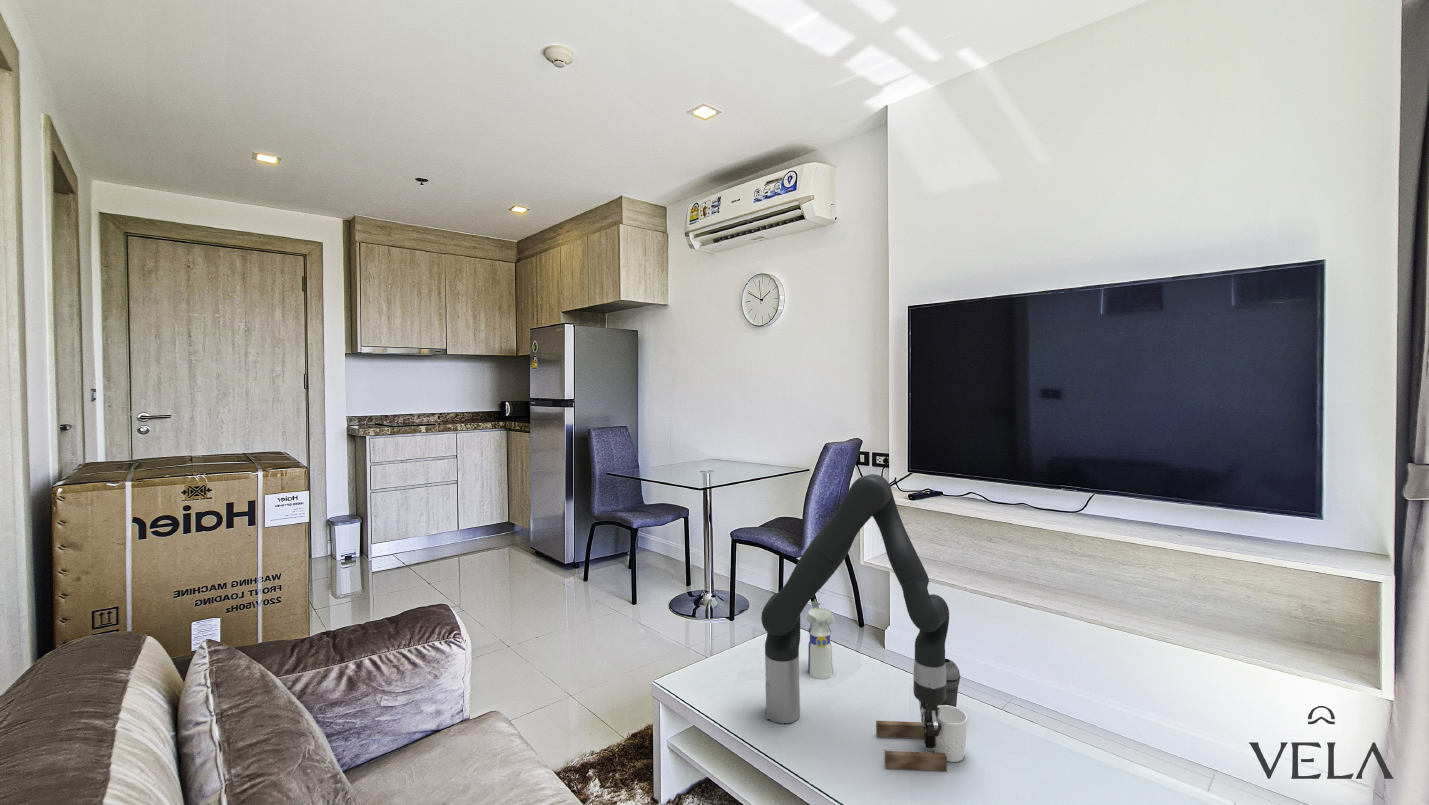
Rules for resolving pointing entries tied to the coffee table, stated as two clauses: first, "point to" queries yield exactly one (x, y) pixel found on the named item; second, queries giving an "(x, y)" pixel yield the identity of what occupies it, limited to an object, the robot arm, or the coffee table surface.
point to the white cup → (951, 733)
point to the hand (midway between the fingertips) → (929, 746)
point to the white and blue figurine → (819, 642)
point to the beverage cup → (951, 683)
